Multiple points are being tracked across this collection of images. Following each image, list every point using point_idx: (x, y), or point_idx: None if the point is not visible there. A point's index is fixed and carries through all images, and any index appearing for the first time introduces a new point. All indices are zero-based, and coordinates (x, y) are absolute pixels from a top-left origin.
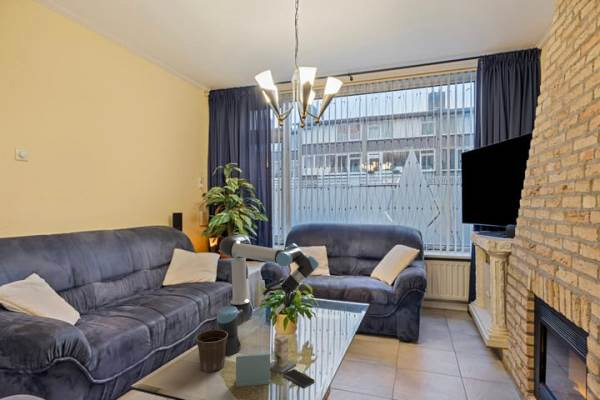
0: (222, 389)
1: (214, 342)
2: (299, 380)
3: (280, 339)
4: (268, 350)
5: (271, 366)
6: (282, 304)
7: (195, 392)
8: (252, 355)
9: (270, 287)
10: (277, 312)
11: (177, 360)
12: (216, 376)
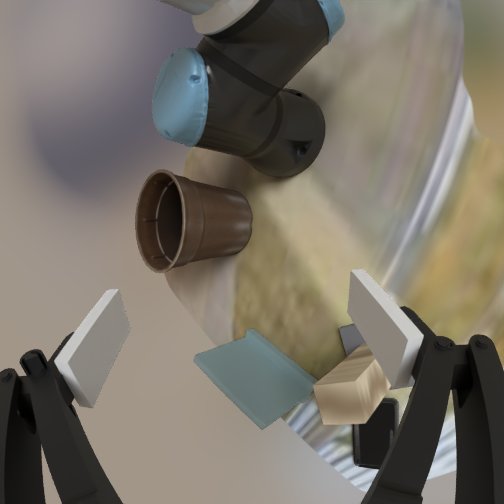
0: (223, 336)
1: (154, 271)
2: (366, 445)
3: (325, 413)
4: (409, 209)
5: (348, 344)
6: (399, 346)
7: (190, 307)
8: (224, 391)
9: (37, 432)
10: (354, 323)
11: (187, 155)
12: (226, 277)
